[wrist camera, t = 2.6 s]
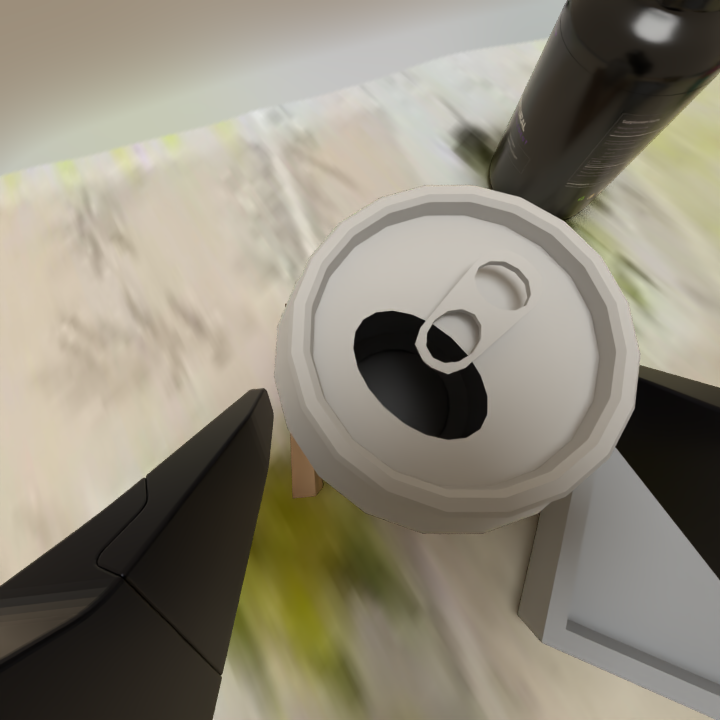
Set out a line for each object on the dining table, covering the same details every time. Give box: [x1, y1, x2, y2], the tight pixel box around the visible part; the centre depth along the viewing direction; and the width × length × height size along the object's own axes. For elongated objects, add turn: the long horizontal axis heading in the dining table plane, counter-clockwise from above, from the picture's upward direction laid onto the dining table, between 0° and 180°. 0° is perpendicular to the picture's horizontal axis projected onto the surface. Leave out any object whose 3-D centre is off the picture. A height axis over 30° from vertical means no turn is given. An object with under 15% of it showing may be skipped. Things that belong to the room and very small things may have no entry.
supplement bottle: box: [490, 0, 720, 220], centre depth 14 cm, size 7×7×12 cm
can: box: [274, 185, 640, 534], centre depth 11 cm, size 8×8×12 cm
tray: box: [518, 448, 720, 720], centre depth 14 cm, size 13×13×2 cm
